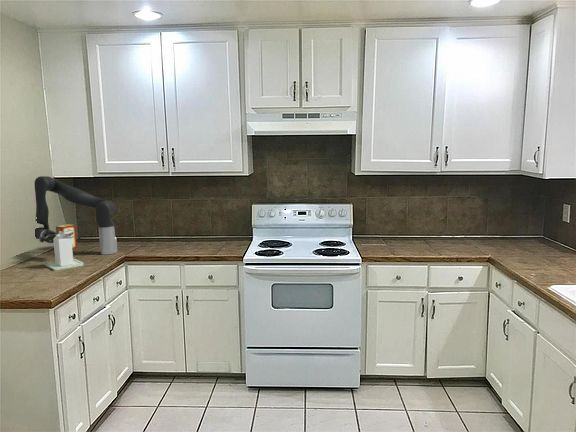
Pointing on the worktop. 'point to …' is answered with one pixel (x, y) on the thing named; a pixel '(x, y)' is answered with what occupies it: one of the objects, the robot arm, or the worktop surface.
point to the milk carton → (63, 249)
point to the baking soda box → (68, 232)
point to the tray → (56, 267)
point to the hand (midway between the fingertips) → (57, 239)
